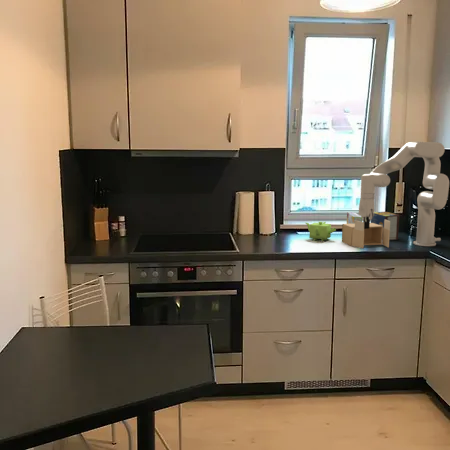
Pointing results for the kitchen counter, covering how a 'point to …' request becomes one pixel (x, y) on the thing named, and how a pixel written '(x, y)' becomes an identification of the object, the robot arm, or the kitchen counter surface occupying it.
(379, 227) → the carton
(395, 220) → the protein box
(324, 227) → the kettle
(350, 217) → the snack box
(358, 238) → the flap
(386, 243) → the flap
